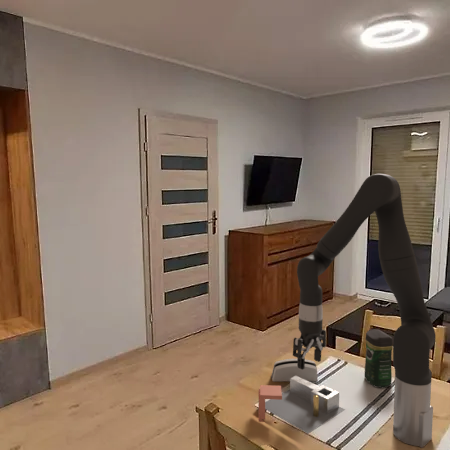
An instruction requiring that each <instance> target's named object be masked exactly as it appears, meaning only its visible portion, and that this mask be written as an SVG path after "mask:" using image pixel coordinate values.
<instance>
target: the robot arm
mask: <svg viewBox="0 0 450 450" xmlns="http://www.w3.org/2000/svg"><path fill="white" fill-rule="evenodd" d="M402 201H403V200H402V193H401V187H400V183H399V182H398V180H397V179H396V178H395V177H394V176H392V175H390V174H385V173H375V174H371V175H370V176H368V177H367V178H365V180H364V181H363V182H362V183H361V185H360V187H359V189H358V191H356V194H355V195H354V197H353V198H352V201H351V202H350V203H349V205H348V206H347V208H346V209H345V210H344V212H342V214H341V215H340V216H339V218H338V219H337V220H336V221H335V222H334V223H333V224H332V226H331V227H330V228H329V229H328V230H327V231H326V233H325V234H324V235H323V236H322V237H321V238H320V239H319V241H318V242H317V244H316V248H315V249H314V250H313V252H311V253H310V254H309V255H307V256H305V257H303V258H301V259H300V260H299V261H298V263H297V267H296V275H297V281H298V286H299V289H300V293H299V306H298V331H299V332H300V336H299V337H298V338H297V337H293V344H292V356H293V357H295V358H296V359H297V362H298V363H297V366H298V368H300V369H302V370H303V369H304V368H305V359H306V358H305V357H306V355H307V353H309V351H310V350H311V349H312V348H314V350H313V351H314V353H313V355H314V356H313V359H314V362H315V361H316V362H319V363H320V362H321V361H322V351H323V349H324V348H326V347H327V331H326V330H325V329H323V319H324V317H323V316H324V314H323V313H324V310H323V288H322V285H321V286H320V284H319V276H321V275H322V274H323V273H324V272H326V270H327V269H328V268H329V267H330V265H331V264H332V263H333V261H334V259H336V257H338V256H339V255H340V253H341V252H342V251H343V250H344V249H345V248H346V247H347V246H348V245H349V243H350V242H351V241H352V239H353V238H354V237H355V235H356V233H357V232H358V230H359V229H360V227H361V226H362V224H363V223H364V222H365V221H366V220H367V219H368V218H369V217H371V215H373V214H374V213H375V216H376V220H377V225H378V239H377V240H378V241H377V242H378V257H379V261H380V262H379V263H380V268H381V271H382V275H383V277H384V278H383V279H384V281H385V282H386V284H387V286H388V288H389V289H390V291H391V293H392V294H393V296H394V298H395V300H396V303H397V306H398V310H399V317H400V322H401V323H400V324H401V325H400V326H399V327H398V328H397V329H396V330H395V331H394V335H393V338H392V339H393V348H392V363H393V368H394V394H393V416H392V417H393V421H392V422H393V423H392V433H393V435H394V437H395V438H396V439H397V440H399V441H400V442H402V443H404V444H407V445H411V446H415V447H420V448H424V447H425V446H426V445H427V444H428V443H429V442H430V441H431V440H432V439H433V420H434V419H433V418H434V417H433V415H434V406H433V405H431V398H432V397H431V394H432V377H433V376H432V375H433V374H432V370H431V369H430V353H431V352H430V351H431V350H432V348H434V345H435V343H436V331H435V328H434V325H433V322H432V320H431V317H430V313H429V312H428V308H427V304H426V303H425V298H424V294H423V286H422V283H421V278H420V273H419V268H418V263H417V259H416V255H415V251H414V248H413V244H412V240H411V237H410V236H411V235H410V233H409V231H408V226H407V224H406V221H405V217H404V215H405V214H404V209H403V202H402Z"/></svg>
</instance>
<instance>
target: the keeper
mask: <svg viewBox="0 0 450 450" xmlns="http://www.w3.org/2000/svg"><path fill="white" fill-rule="evenodd" d="M282 391H283V390H282V385H267V384H263V385H262V384H260V385H259V388H258V422H262V423H263V422H264V423H265V420H266V409H265V402H266V400H270V399H277V400H282V393H283V392H282Z"/></svg>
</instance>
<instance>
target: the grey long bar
mask: <svg viewBox="0 0 450 450" xmlns="http://www.w3.org/2000/svg"><path fill="white" fill-rule="evenodd" d="M289 390H290V393H292V394H294V395H296V396H298V397H300V398H302V399H304V400H306V401H308V402H310V403H311V407H313V397H314V395H318V396H319V411H321V412H323V413H325V414H327V415H328V414H329V413H331V412H332V411H334V410H336V409H337V408H339V407H340V392H339V391H337V390H336V389H333V388H330V387H328V386H326V385H324V384H322V385H320V386H319V385H317V384H315V383H313V382H312V381H307V380H304V379H302V378H300V377H298V376H294V377H292V378H290V381H289Z"/></svg>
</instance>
